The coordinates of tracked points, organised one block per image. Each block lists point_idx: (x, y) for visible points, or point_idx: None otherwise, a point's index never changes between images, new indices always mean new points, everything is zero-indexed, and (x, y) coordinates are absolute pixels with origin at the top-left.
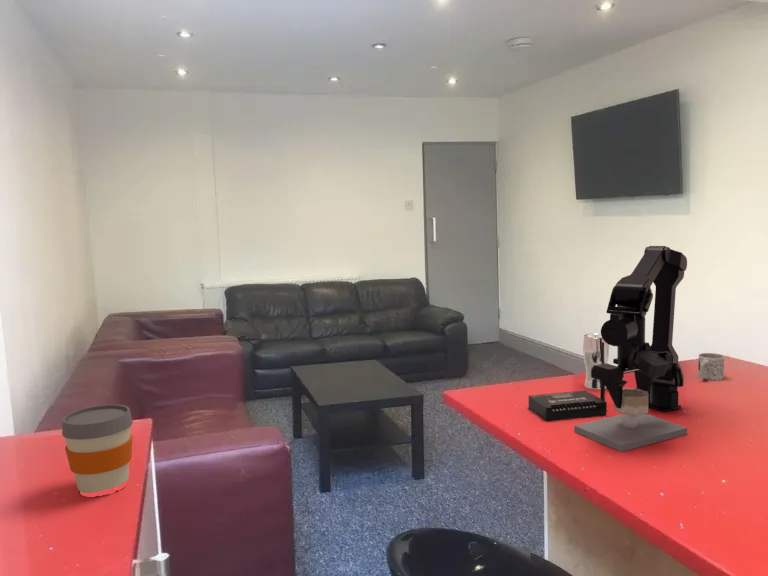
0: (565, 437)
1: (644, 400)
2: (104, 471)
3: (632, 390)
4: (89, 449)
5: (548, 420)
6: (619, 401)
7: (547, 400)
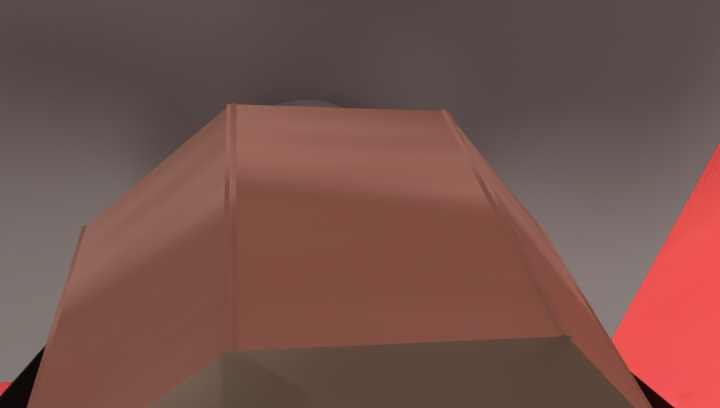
0: (711, 278)
1: (351, 265)
2: None
3: None
4: None
5: None
6: (659, 396)
7: None
